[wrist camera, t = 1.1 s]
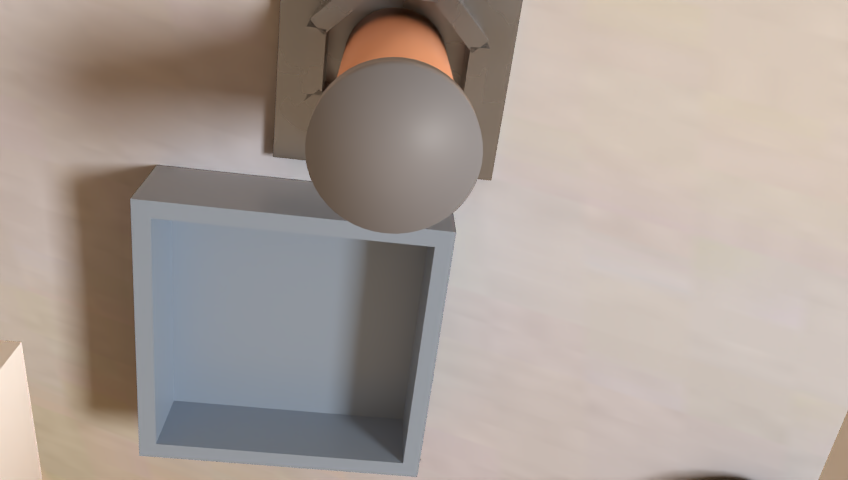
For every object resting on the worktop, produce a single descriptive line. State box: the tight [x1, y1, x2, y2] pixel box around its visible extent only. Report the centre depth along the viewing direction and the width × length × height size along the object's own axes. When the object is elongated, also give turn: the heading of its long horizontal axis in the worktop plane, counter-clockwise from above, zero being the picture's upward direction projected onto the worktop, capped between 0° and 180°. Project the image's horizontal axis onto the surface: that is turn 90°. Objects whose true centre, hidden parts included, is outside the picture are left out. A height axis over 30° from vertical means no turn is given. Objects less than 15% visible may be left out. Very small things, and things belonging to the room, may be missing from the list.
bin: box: [130, 165, 456, 477], centre depth 38 cm, size 14×14×4 cm
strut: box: [305, 7, 483, 234], centre depth 29 cm, size 5×5×12 cm
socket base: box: [273, 0, 523, 180], centre depth 33 cm, size 10×10×2 cm
